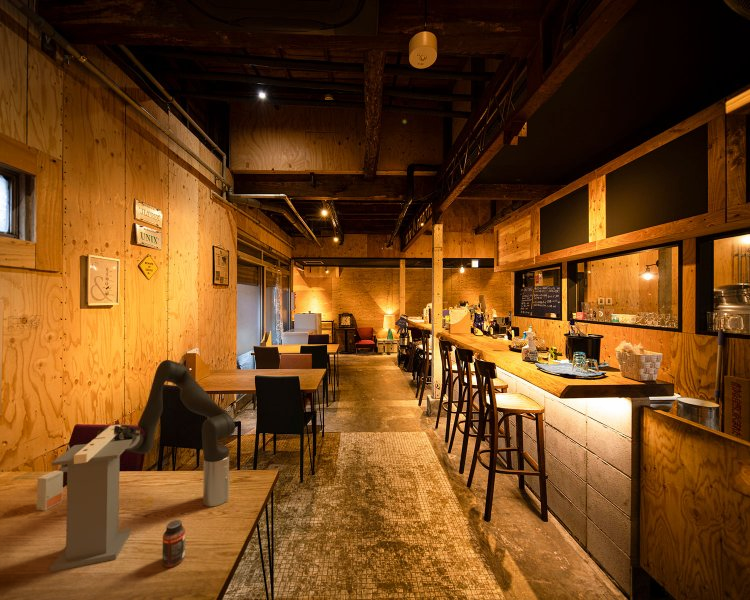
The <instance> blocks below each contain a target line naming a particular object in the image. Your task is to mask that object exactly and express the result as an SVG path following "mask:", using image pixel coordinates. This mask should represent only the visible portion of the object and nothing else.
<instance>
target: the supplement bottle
mask: <svg viewBox="0 0 750 600" xmlns="http://www.w3.org/2000/svg"><path fill="white" fill-rule="evenodd" d="M185 557H186V528H185V526H183V522H182V520H180V519H174V520H172V521H170V522H169V523H167V524H166V530H165V531H164V532H163V535H162V566H164V567H165V568H173V567H175V566H177V565H179V564H180V563H182V562H183V561H184V559H185Z"/></svg>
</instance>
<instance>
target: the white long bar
mask: <svg viewBox="0 0 750 600" xmlns="http://www.w3.org/2000/svg"><path fill="white" fill-rule="evenodd" d="M115 426H119V427H120V426H121V424H114V425H109V426H108V427H107V429H106V430H105V431H103V432H102V433H101V434H99V435H98V434H97V435H98V436H96V437H95V438H93V439H92V440H91V441H90V442H88V443H86V444H87V445H86V446H85V447H84V448H82V449H81V450H80V451H79V452H77V453H76V454H75V455H74V464H78V463H87V462H88V461H89V460H90V459H91V458H92V457H93V456H94V455H95V454H96V453H97V452H99V451H100V450H101V449H102V448H103V447H104V446H105V445H106V444H107V443H108V442H111V440H112V439H113V438H114V437H115V436H116V435H117V434H116V433H114V428H115Z"/></svg>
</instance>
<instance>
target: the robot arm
mask: <svg viewBox="0 0 750 600" xmlns="http://www.w3.org/2000/svg"><path fill="white" fill-rule="evenodd" d="M166 382H168V383H172V384H175V386H177V388H178V389H180V391H179V398H180V401H181V403H183V406H185V408H187V410H189V411H190V412H192V413H194V414H198V415H200V416H204V417H206V419H204V421H203V422H202V426H201V439H202V442H201V443H202V447H201V448H202V454H203V475H202V476H203V479H202V480H203V482H202V483H203V484H202V485H203V487H202V489H203V490H202V493H203V495H202V503H203V504H202V505H204V506H206V507H217V506H220V505H222V504H225V503H227V501H229V498H228V497H230V474H231V473H230V448H229V447H228V446H227V445H225V444H218V441H220V440H223V439H225V438H228V437H230V436H232V435H233V434H234V432H235V430H236V424H235V421H234V419H233V417H232V416H231V415H230V414H229V412H227V411H226V410H225V409H223V408H222V407H221V406H220V405H218V404H217V402H216V401H214V399H213V398H212V397H211V396H210V395H209V394H208V392H207V391H206V390H205V389H204V388H203V387H202V386H201V385H200V384H199V383H198V382H197V380H195V378H194V377H193V376H192V374H191V372H189V370H188V368H187V367H186V365H184V364H183V363H180V362H178V361H177V362H176V361H174V360H169V359H165V360H163V361H161V362H160V363H159V365H158V366H157V368H156V370H155V373H154V377H153V380H152V382H151V383H152V384H151V387H150V391H149V395H148V397H147V398H148V399H147V402H146V404H145V407H144V410H143V412H142V414H141V416H140V419H139V421H138V423H137V427H133V426H130V425H127V424H125V425H120V427H119V426H115V428H114V433H116V434H117V435H116V436H115V437H114V438H113V439H112V440H111V441H121V440H130V439H132V443H131V444H130V445H129V446H128V447H127V448H126V449H125V451H127V452H131V453H136V454H141V455H145V454H148V453H149V452H150V451H152V448H153V446H154V443H155V433H156V428H157V425H158V423H159V420H160V418H161V415H162V413H163V409H164V404H163V403H164V401H163V390H164V386H165V384H166ZM107 428H108V427H106V426H102V428H100V429H99V430H98V432H97V434H96V435H97V436H98V435H99V434H101V433H102V432H103V431H105V430H106V429H107ZM141 430H143V431H144V432H145V434H142V433H141ZM97 436H96V437H97ZM111 441H110V442H111Z"/></svg>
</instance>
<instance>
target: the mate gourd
mask: <svg viewBox="0 0 750 600" xmlns="http://www.w3.org/2000/svg"><path fill="white" fill-rule="evenodd" d="M70 448H71V447H70V445H69V444H67V450H69V449H70ZM58 471H63V488H65V487H67V464H63V465H60V467H59V468H58Z"/></svg>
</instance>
